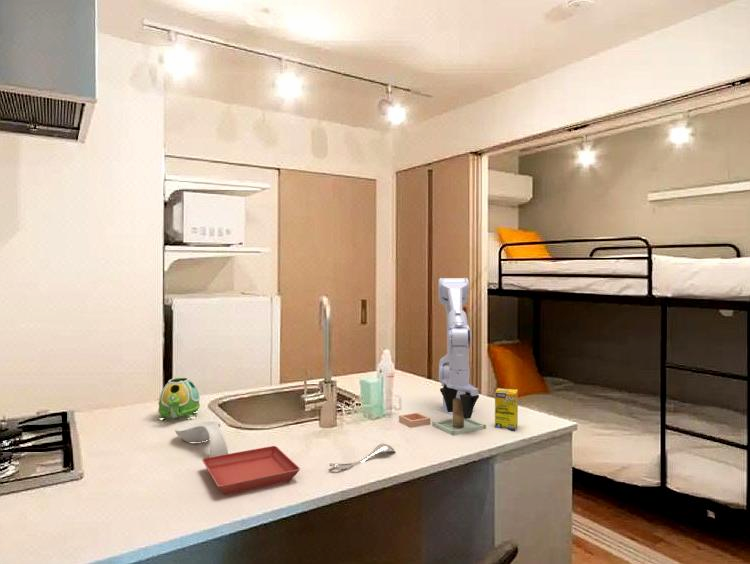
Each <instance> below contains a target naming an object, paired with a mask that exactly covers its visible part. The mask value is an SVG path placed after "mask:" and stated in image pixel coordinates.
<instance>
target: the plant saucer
mask: <svg viewBox="0 0 750 564" xmlns="http://www.w3.org/2000/svg"><path fill="white" fill-rule="evenodd" d="M201 461H202V462H203V464H204V467H206V469H207V470H208V473H209V474H210V476H211V478H212V479H213V481H214V483H215V485H216V486H217V488H218V489H219V491H220V492H221V493H222V494H224V495H232V494H237V493H241V492H245V491H250V490H256V489H259V488H260V489H261V488H265V487H269V486H273V485H279V484H283V483H288V482H289V481H291V480H292V479H293V478H294V477H295V476H296V475H297V474H298V473H299V471H300V470H301V468H300V467H299V466H298V465H297V464H296V463H295V462H294V461H293V460H292V459H291V458H289V456H287V454H285V453H284V452H283V451H282V450H281V449H280V448H279V447H278V446H276V445H270V446H265V447H260V448H259V447H258V448H255V449H247V450H243V451H237V452H232V453H228V454H225V455H220V456H214V457H209V456H208V457H205V458H202V459H201Z"/></svg>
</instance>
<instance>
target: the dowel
mask: <svg viewBox="0 0 750 564" xmlns="http://www.w3.org/2000/svg"><path fill="white" fill-rule="evenodd" d="M452 419H453V427H454V428H463V427H464V416H463V406H462V401H461V398H454V399H453V415H452Z"/></svg>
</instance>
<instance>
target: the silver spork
mask: <svg viewBox="0 0 750 564" xmlns="http://www.w3.org/2000/svg"><path fill="white" fill-rule="evenodd" d="M387 452H393V453H396V450H395V448H393V447H392V446H391V445H389V444H387V443H380V444H378V445H376V446H375V448H373V451H371V452H370V453H369V454H367V455H366V456H365V457H363V458H362V459H360V460H358V461H355V462H351V463H328V464H329V466H330V467H332V468H335V469H341V470H350V469H352V468H354V467H355V466H358V465H361V464H363V463H364V462H365V461H366V460H368V459H369V458H370V457H373V456H374V455H377V454H379V453H387ZM360 463H361V464H360Z"/></svg>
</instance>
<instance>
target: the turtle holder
mask: <svg viewBox="0 0 750 564" xmlns="http://www.w3.org/2000/svg"><path fill="white" fill-rule="evenodd" d="M200 399H201V397H200V394H199V391H198V389H197V386H196V385H195V383H193V381H192V380H191V379H190V378H189V377H173V378H171V379H169V380H168V381H167V383H166V384H165V386H163V388H162V390H161V392H160V394H159V398H158V402H157V404H158V411H157V412H158V414H159V416H158V418H165V419H166V417H167V418H171V419H177V418H179V417H185V419H187V418H190V417H194V416H196V415H195V414H194V413H193V412H196V411H198V412H199V409H200V406H201V404H200Z"/></svg>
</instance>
